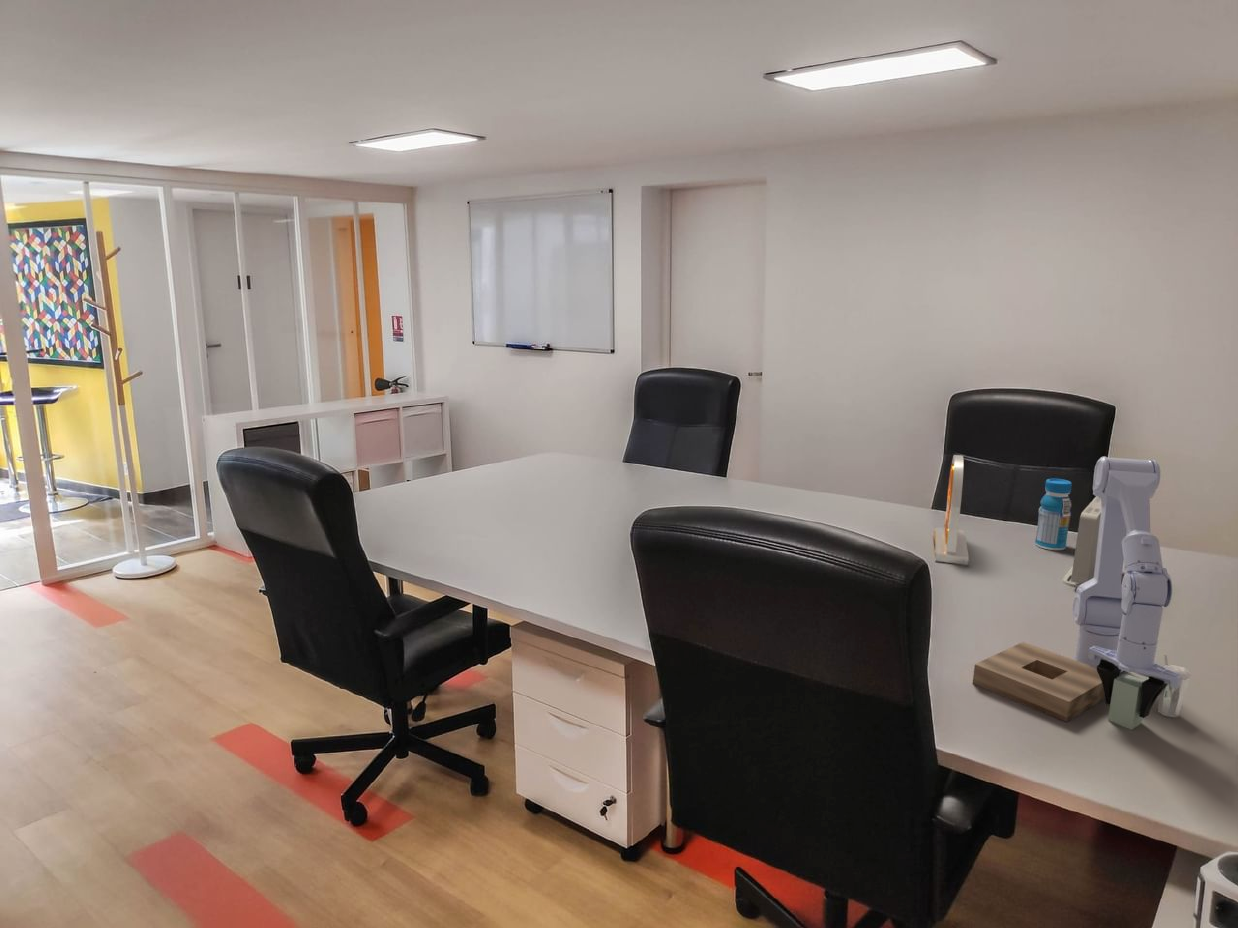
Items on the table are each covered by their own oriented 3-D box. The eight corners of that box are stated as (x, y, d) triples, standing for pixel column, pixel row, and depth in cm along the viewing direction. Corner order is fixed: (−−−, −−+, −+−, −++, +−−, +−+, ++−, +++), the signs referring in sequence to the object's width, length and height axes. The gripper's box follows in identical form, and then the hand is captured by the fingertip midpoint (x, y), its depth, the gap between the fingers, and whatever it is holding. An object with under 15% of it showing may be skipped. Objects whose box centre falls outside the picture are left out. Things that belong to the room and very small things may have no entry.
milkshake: (1169, 704, 158) (1177, 655, 156) (1188, 719, 153) (1197, 668, 151) (1145, 704, 158) (1153, 654, 156) (1164, 719, 153) (1173, 668, 151)
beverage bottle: (1036, 549, 249) (1045, 482, 245) (1032, 541, 257) (1040, 476, 252) (1068, 552, 247) (1078, 485, 242) (1063, 544, 254) (1072, 479, 250)
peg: (1117, 713, 155) (1124, 673, 153) (1141, 722, 152) (1148, 681, 150) (1107, 720, 152) (1114, 678, 151) (1131, 729, 149) (1138, 687, 148)
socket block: (1020, 659, 176) (1023, 641, 175) (1112, 694, 162) (1115, 674, 161) (972, 683, 165) (974, 664, 165) (1066, 722, 151) (1069, 701, 151)
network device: (1096, 595, 213) (1107, 518, 209) (1057, 587, 218) (1068, 512, 214) (1111, 569, 233) (1122, 498, 229) (1076, 562, 238) (1086, 493, 234)
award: (932, 533, 262) (941, 445, 256) (963, 537, 260) (973, 448, 254) (933, 561, 237) (943, 464, 231) (967, 565, 234) (978, 467, 228)
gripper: (1084, 629, 152) (1074, 698, 155) (1174, 658, 141) (1161, 733, 144) (1103, 620, 156) (1092, 688, 159) (1192, 648, 145) (1179, 720, 148)
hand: (1126, 709), depth 152 cm, fingers open, 5 cm apart
